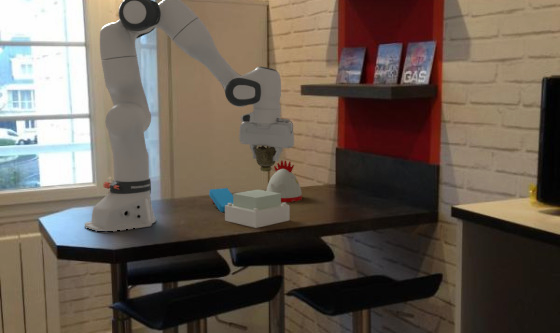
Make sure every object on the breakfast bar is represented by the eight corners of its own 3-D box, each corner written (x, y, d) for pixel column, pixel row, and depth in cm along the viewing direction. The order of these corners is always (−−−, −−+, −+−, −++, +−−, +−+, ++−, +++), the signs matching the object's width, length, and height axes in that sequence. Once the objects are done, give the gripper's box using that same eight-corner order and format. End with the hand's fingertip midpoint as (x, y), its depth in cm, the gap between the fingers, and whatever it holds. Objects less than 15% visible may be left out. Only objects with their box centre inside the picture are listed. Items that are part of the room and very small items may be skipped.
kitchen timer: (292, 203, 239) (292, 163, 237) (259, 200, 245) (259, 161, 242) (307, 197, 251) (307, 159, 249) (275, 194, 257) (275, 157, 255)
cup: (264, 168, 215) (264, 144, 214) (281, 170, 211) (282, 146, 210) (249, 170, 209) (250, 146, 208) (267, 173, 205) (268, 148, 204)
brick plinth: (255, 227, 200) (255, 199, 198) (225, 220, 210) (224, 193, 209) (289, 220, 210) (289, 193, 209) (258, 213, 221) (258, 188, 219)
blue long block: (238, 222, 229) (222, 200, 244) (240, 205, 226) (224, 184, 241) (220, 224, 226) (205, 202, 241) (221, 206, 223) (206, 185, 238)
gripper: (298, 119, 204) (297, 162, 206) (248, 115, 216) (247, 156, 218) (287, 119, 199) (286, 163, 201) (236, 116, 211) (236, 157, 213)
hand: (265, 159), depth 209 cm, fingers closed on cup, 7 cm apart
